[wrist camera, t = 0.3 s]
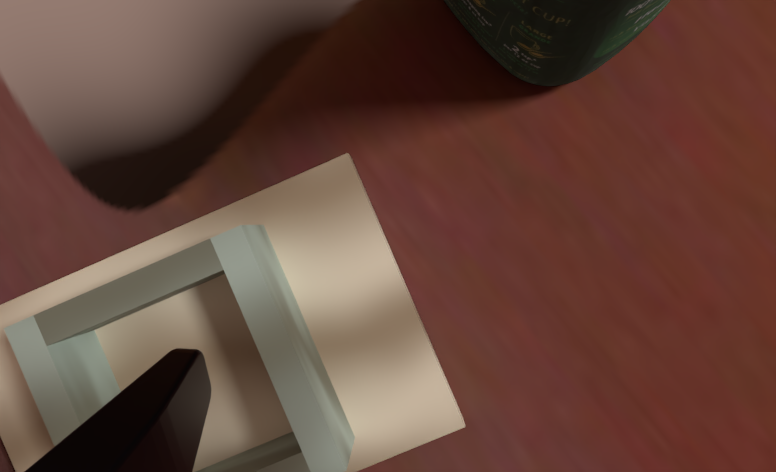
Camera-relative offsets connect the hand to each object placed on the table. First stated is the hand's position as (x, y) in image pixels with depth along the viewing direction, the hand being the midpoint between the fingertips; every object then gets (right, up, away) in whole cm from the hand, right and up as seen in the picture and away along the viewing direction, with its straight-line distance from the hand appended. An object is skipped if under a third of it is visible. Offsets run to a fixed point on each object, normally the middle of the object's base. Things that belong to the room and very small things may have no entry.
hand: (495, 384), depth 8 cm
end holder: (-9, -3, +15) cm, 18 cm away
